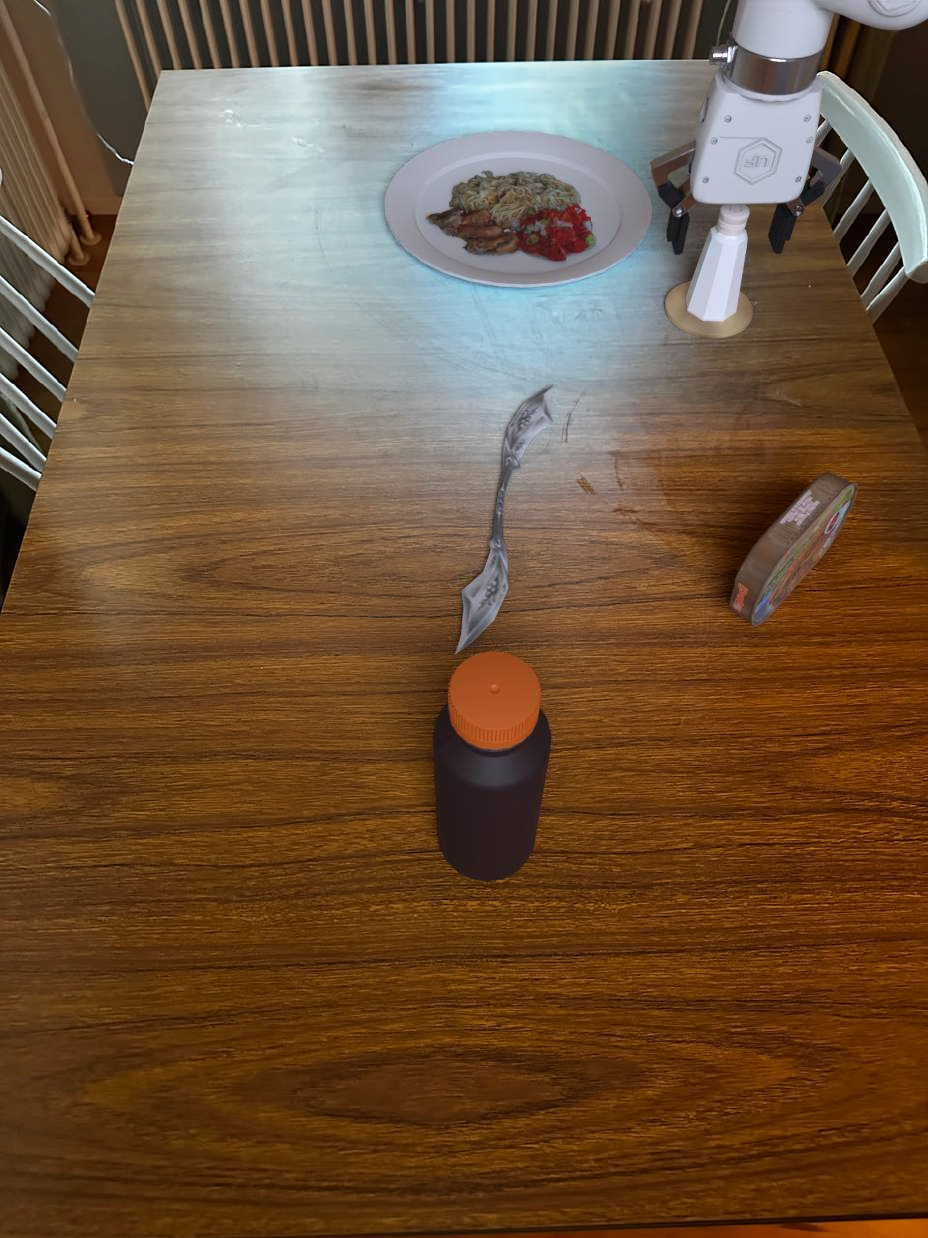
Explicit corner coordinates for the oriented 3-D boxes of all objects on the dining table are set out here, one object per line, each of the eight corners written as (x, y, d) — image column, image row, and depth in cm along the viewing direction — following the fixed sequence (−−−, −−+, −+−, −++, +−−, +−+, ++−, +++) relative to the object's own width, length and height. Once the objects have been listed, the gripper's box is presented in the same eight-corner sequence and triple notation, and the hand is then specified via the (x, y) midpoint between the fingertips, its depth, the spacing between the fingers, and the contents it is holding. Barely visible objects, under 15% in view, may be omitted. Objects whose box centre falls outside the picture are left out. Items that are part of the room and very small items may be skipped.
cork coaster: (743, 282, 102) (744, 278, 101) (759, 338, 96) (760, 334, 96) (659, 283, 101) (659, 279, 101) (671, 338, 96) (672, 334, 96)
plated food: (444, 126, 119) (444, 98, 117) (677, 175, 113) (683, 147, 111) (340, 261, 103) (337, 233, 101) (606, 327, 97) (610, 299, 95)
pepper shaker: (720, 285, 101) (746, 187, 91) (746, 316, 98) (775, 218, 89) (674, 296, 99) (696, 198, 90) (699, 328, 97) (724, 229, 88)
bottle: (532, 789, 68) (554, 634, 52) (538, 882, 64) (564, 746, 48) (437, 791, 68) (429, 636, 52) (437, 884, 64) (429, 748, 48)
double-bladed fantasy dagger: (559, 387, 92) (508, 381, 92) (559, 383, 91) (509, 376, 92) (509, 665, 74) (447, 655, 74) (509, 661, 73) (447, 651, 74)
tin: (744, 645, 75) (773, 580, 68) (711, 622, 76) (736, 557, 70) (841, 537, 82) (876, 468, 75) (808, 518, 83) (841, 448, 76)
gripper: (674, 84, 77) (641, 270, 91) (888, 83, 77) (822, 268, 91) (661, 40, 81) (632, 224, 95) (864, 39, 81) (804, 222, 95)
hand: (725, 245), depth 93 cm, fingers open, 9 cm apart
